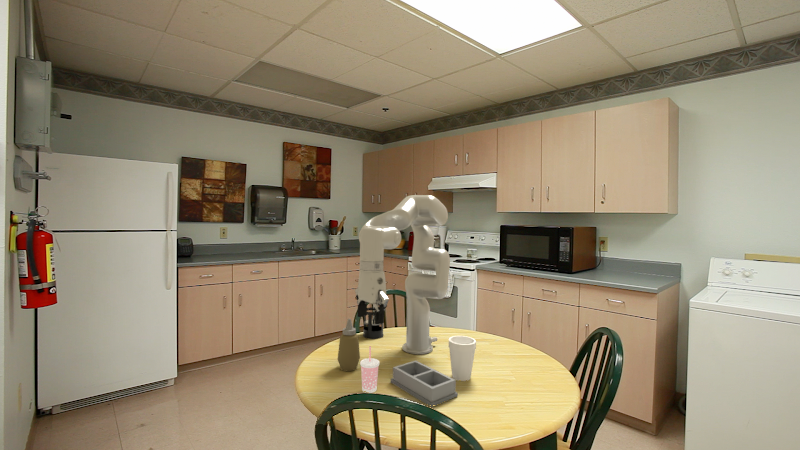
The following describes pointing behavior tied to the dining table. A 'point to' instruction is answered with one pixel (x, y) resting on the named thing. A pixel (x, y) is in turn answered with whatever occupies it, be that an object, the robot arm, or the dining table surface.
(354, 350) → the squeeze bottle
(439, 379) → the compartment organizer caddy
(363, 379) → the beverage cup
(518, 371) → the dining table surface
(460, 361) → the foam cup
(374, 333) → the french press
